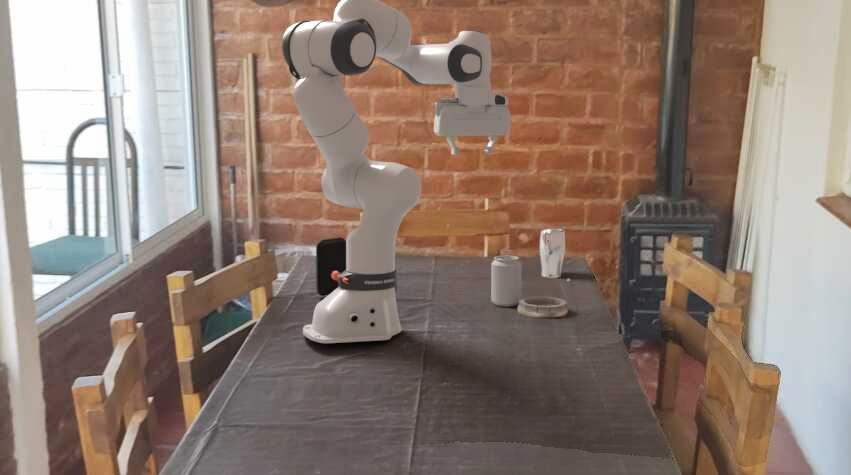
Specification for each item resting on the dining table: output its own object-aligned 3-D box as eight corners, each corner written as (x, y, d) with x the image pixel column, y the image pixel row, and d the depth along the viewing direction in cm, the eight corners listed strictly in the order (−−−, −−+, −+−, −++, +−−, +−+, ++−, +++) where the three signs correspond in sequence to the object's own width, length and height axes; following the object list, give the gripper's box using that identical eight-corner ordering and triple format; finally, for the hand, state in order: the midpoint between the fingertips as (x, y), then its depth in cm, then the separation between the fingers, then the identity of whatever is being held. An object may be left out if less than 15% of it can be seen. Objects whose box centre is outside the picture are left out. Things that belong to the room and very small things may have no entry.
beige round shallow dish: (534, 319, 211) (534, 309, 211) (508, 308, 222) (508, 298, 221) (577, 314, 216) (577, 304, 216) (549, 304, 227) (550, 294, 226)
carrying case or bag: (345, 290, 241) (345, 235, 239) (353, 292, 239) (352, 236, 236) (313, 296, 233) (313, 239, 231) (321, 298, 231) (320, 241, 229)
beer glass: (558, 287, 247) (559, 233, 244) (534, 284, 250) (536, 231, 248) (567, 283, 253) (569, 230, 250) (544, 280, 256) (545, 228, 254)
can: (521, 301, 230) (522, 254, 228) (520, 307, 222) (520, 259, 221) (492, 300, 231) (492, 254, 229) (489, 306, 224) (490, 259, 222)
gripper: (440, 97, 217) (440, 155, 219) (514, 98, 225) (513, 154, 227) (429, 97, 222) (429, 154, 224) (501, 98, 231) (500, 152, 233)
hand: (472, 154), depth 226 cm, fingers open, 8 cm apart
